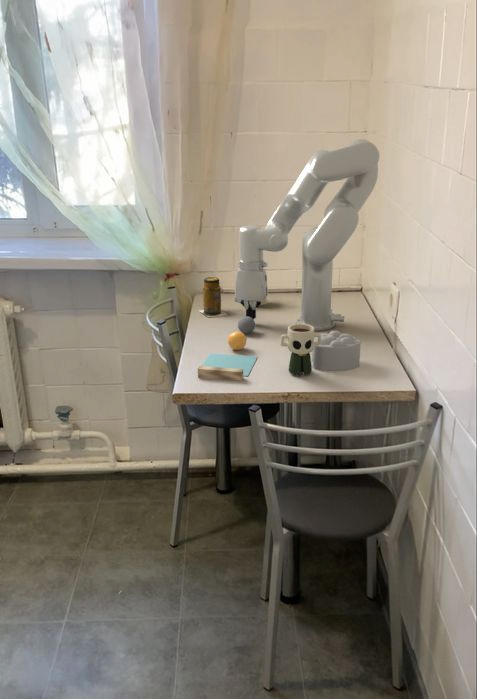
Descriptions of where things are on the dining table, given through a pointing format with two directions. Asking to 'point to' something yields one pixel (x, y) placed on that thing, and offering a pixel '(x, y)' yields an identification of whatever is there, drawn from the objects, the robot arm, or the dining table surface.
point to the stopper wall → (220, 373)
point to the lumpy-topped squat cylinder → (336, 352)
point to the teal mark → (231, 362)
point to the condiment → (212, 298)
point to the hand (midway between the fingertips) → (250, 320)
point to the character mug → (300, 347)
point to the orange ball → (237, 340)
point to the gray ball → (246, 325)
